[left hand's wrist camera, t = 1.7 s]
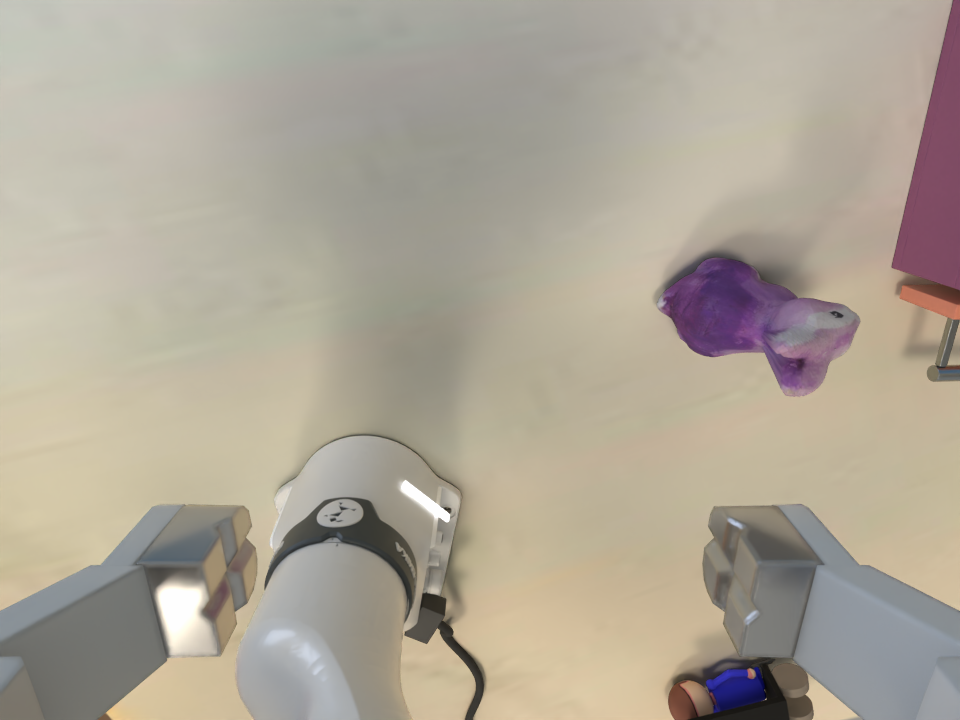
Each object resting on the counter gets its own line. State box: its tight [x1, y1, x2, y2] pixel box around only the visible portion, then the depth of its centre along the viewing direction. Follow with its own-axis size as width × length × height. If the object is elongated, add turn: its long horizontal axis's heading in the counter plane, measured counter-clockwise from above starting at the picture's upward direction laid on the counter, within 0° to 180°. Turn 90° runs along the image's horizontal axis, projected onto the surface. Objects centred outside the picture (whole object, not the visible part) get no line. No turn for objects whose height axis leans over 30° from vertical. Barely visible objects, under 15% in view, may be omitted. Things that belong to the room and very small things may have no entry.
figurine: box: [657, 257, 860, 397], centre depth 45 cm, size 9×10×15 cm
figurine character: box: [668, 659, 814, 720], centre depth 66 cm, size 7×8×15 cm
